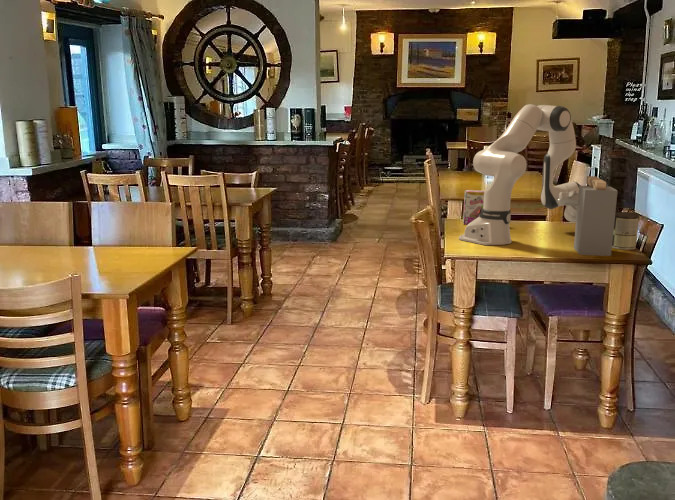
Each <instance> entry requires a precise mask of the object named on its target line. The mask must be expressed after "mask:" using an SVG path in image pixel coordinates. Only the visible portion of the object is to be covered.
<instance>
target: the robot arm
mask: <svg viewBox="0 0 675 500" xmlns="http://www.w3.org/2000/svg"><path fill="white" fill-rule="evenodd" d="M537 131H542V132H548V139H549V148H548V151H547V153H546V154H545V155H544V157H543V161H542V162H543V163H542V178H541V179H542V181H541V182H542V183H541V192H540V201H541V204H542V207H543V206H544V207H545V208H546V209H548V210H553V209H556V208H558V207H562V206H565V209H564V218H565V219H566V221H568V222H571V223H576V217H577V206H578V195H579V186H582V185H581V184H580V183H579V182H577V181H575V180H573V181H568V182H565V183H562V184H557V185H554V171H555V169H556V168H557V167H558V166H559V165H560V164H561V163H563V162H564V161H566V160H568V159H569V158H570V157H572V155H574V152H575V150H576V148H577V139H576V133H575V129H574V124H573V121H572V115H571V112H570V110H569V109H568V108H567V107H565V106H561V105H549V104H540V105H538V104H536V105H535V104H532V103H531V104H530V103H529V104H525V105H524V106H522V108H520V110H519V111H518V112H517V113H516V114H515V115H514V117H513V118H512V120H511V121H510V123H509V124H508V126H507V127H506V129H505V130H504V131H503V133H502V134H501V135H500V136H499V137H498V138H497V139H496V140H495V141H494V142H493V143H491V144H490V145H489V146H487V147H486V148H484V149H482V150H480V151H478V152H476V154H475V155H474V157H473V161H472V165H473V169H474V170H475V172H477V173H480V174H481V175H484V176H489V177H493V180H492V184H491V185H489V186H488V187H487V188H486V189H484V191H485V192H484V205H483V209H481V210H479V212H478V213H479V217H478V218H476V219H475V220H473V221H472V222H470V223H469V224H468V225H466V226H465V229H464V233H463V234H460V235H459V237H458V240H460V241H464V242H469V243H473V244H478V245H483V246H495V245H496V246H497V245H498V246H499V245H509V244H511V243H512V239H511V230H510V229H511V227H510V223H511V217H512V215H511V213H512V212H511V200H512V191H513V188H514V186H515V184H516V182H517V181H518V180H519V179H520V178H521V177H523V175H525V173H526V170H527V160H526V158H525V157H524V156H523V155H522V154H519V152H522V151H523V150H525V149H526V147H527V146H528V145H529V143H530V141H531V140H532V138H533V137H534V135H535V134H536V132H537Z"/></svg>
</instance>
